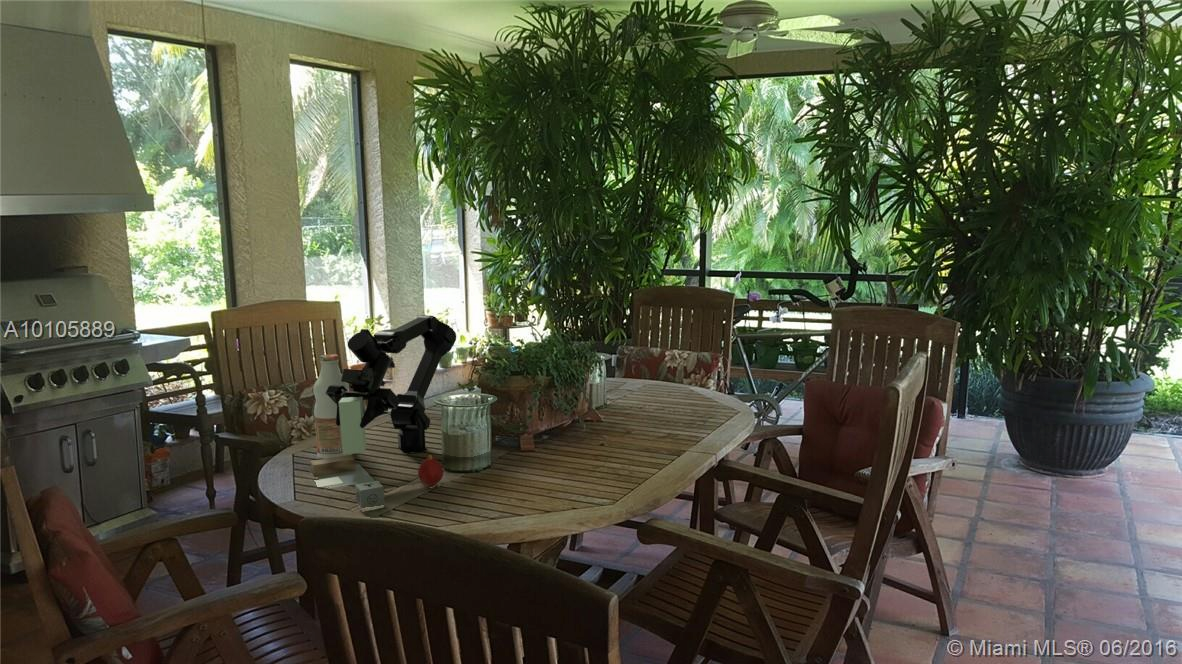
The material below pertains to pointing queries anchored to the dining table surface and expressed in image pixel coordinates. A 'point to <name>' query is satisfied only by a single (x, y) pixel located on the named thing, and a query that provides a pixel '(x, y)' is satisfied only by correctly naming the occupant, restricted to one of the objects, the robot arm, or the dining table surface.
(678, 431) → the dining table surface
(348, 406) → the post
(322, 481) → the board
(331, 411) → the fruit juice
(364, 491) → the dice cube
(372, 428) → the dining table surface
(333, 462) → the beam
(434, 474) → the onion
